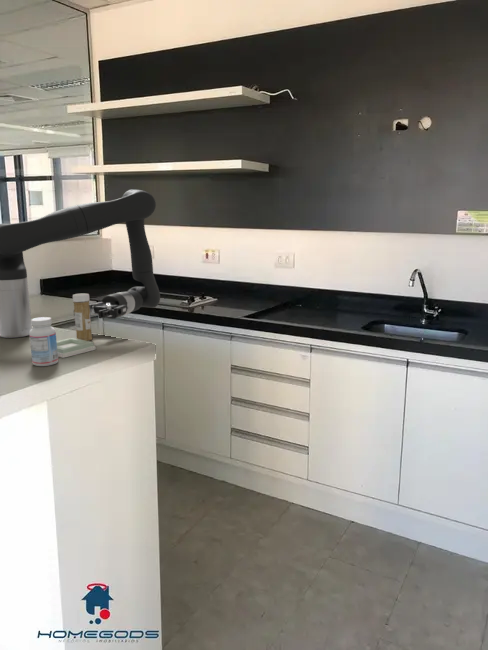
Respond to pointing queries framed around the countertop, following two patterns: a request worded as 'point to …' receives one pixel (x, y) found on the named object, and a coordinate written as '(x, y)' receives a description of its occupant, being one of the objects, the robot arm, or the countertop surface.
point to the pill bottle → (43, 342)
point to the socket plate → (73, 347)
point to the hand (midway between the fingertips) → (87, 314)
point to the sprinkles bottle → (82, 316)
